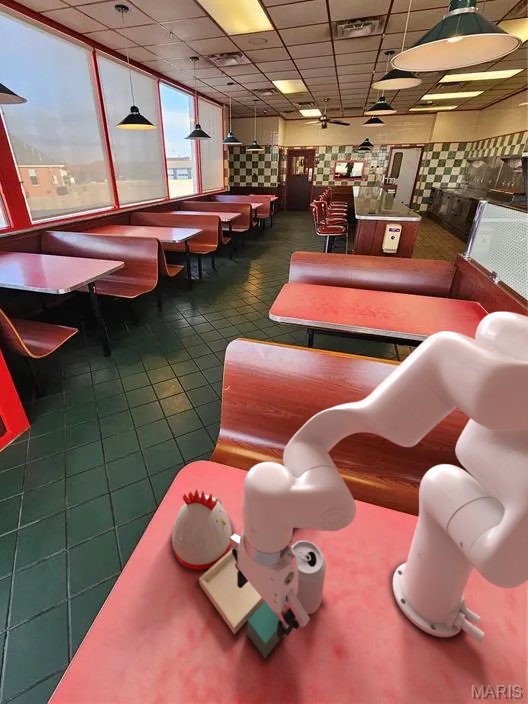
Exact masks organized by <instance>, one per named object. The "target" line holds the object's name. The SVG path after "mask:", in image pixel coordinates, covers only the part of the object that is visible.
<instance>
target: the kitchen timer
mask: <svg viewBox="0 0 528 704" xmlns="http://www.w3.org/2000/svg"><path fill="white" fill-rule="evenodd" d="M182 500H183V501H184V503H183V505H182V506H181V507H180V509H179V511H178V513H177V515H176V518H175V521H174V524H173V529H172V535H171V540H172V541H171V542H172V549H173V553H174V556H175V558H176V559H177V560H178V562H179V563H180V564H182V565H183V566H185V567H186V568H188V569H190V570H197V571H203V570H207V569H208V570H209V569H210V568H211V567H212V566H213V565H214V564H216V563H217V562H218V561H219V560H220V559H221V558H222V557H223V556H225V555H226V554H227V553H228V552H229V551H230V550H231V544H230V540H229V538H230V537H231V536H232V535H233V534H232V533H233V532H232V525H231V522H230V519H229V516H228V513H227V512H226V510H225V508H224V506H223V505H222V500H221V498H219V497H217V496H213V494H212V493H210V494H209V495H207V494H205V492H204V491H203V490H202V491H201V494H199V491H198V489H197V488H196V489H195V491H194V493H192V491H189V493H188V494H187V495H186V494H185V493H184V494H183V496H182Z"/></svg>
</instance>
